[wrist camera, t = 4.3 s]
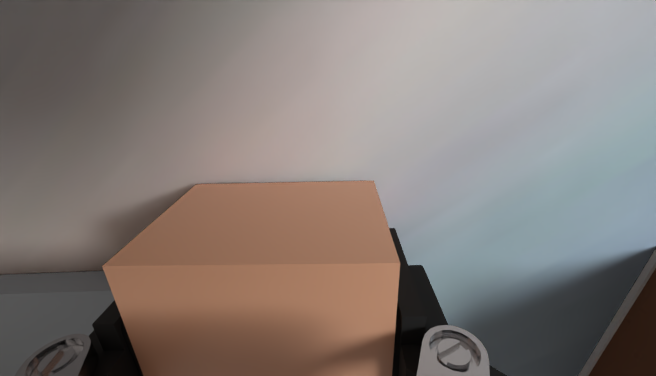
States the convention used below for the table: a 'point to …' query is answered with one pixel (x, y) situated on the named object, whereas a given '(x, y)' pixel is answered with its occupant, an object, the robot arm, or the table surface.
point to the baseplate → (47, 311)
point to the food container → (629, 333)
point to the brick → (262, 282)
